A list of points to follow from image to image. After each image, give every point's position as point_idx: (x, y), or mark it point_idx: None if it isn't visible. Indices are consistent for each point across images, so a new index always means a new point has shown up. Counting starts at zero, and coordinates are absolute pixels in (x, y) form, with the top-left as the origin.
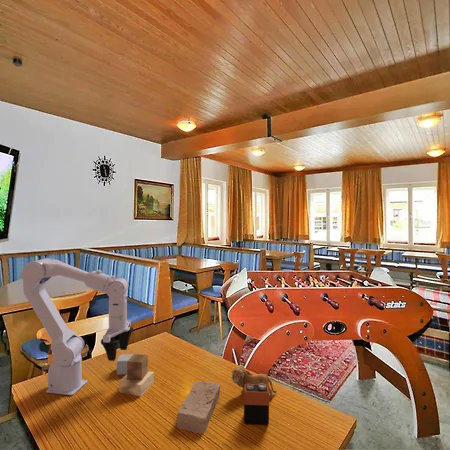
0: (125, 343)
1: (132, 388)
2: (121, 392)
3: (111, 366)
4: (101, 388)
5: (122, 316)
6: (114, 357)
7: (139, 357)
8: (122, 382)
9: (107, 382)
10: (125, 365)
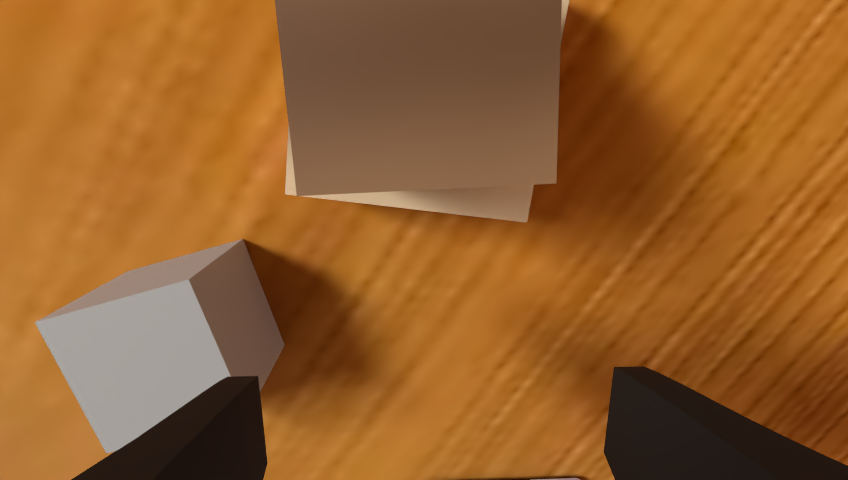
0: (205, 471)
1: None
2: None
3: None
4: (478, 352)
5: None
6: (690, 390)
7: (390, 29)
8: (530, 185)
9: (400, 353)
10: (232, 313)
